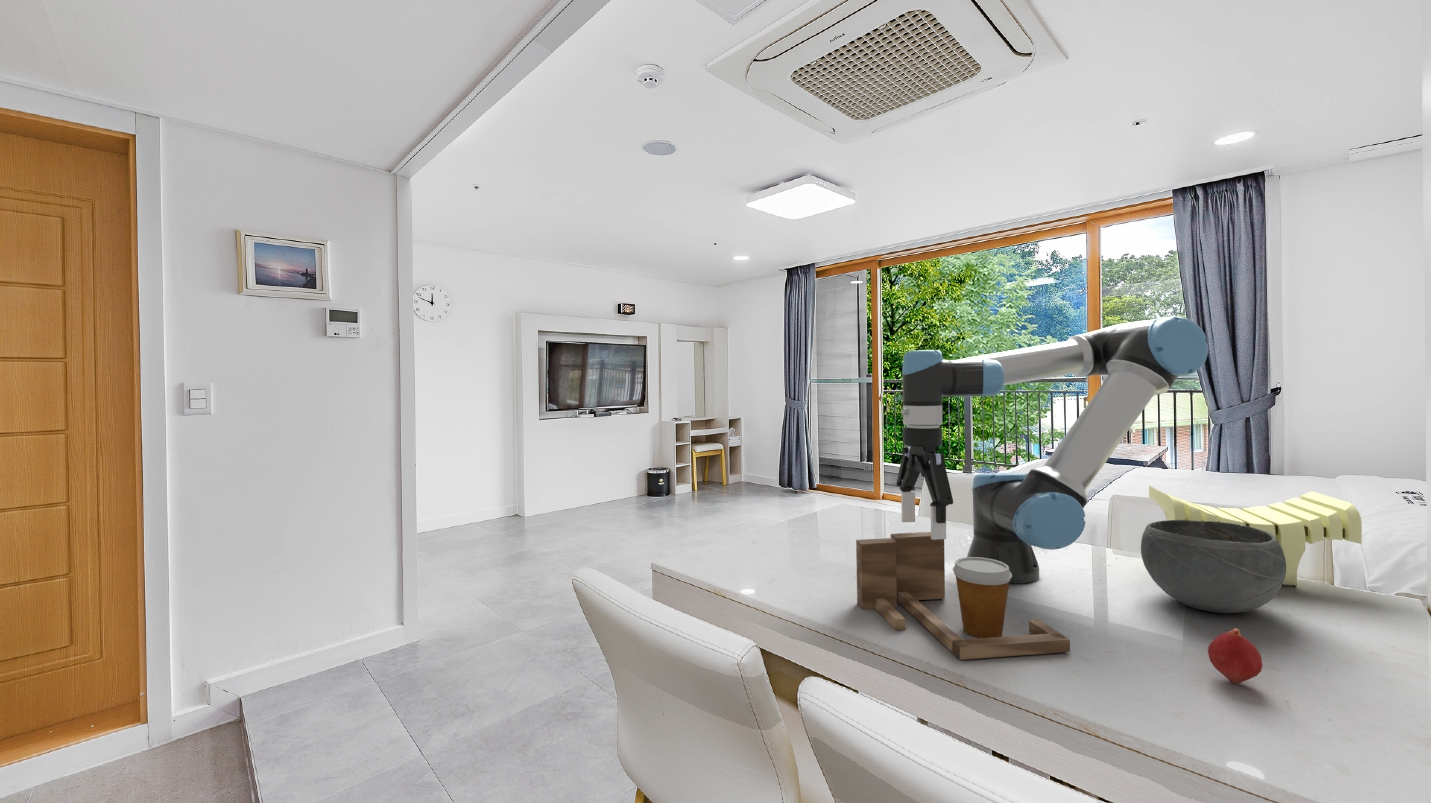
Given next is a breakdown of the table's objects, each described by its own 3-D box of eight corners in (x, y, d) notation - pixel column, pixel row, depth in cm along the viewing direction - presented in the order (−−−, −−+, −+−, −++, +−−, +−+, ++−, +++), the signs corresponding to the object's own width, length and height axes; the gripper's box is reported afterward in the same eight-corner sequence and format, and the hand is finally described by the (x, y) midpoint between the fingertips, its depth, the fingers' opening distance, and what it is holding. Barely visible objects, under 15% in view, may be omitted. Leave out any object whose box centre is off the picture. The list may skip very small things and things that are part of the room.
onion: (1197, 673, 85) (1197, 620, 84) (1232, 670, 85) (1232, 618, 85) (1236, 694, 79) (1236, 638, 79) (1273, 691, 79) (1274, 635, 79)
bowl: (1283, 602, 109) (1283, 526, 109) (1289, 641, 94) (1290, 551, 94) (1147, 579, 124) (1147, 511, 123) (1133, 609, 108) (1133, 531, 108)
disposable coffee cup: (1020, 645, 95) (1019, 574, 95) (959, 641, 97) (958, 572, 97) (1003, 621, 104) (1002, 557, 104) (948, 618, 106) (947, 555, 106)
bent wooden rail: (891, 595, 117) (890, 533, 117) (977, 590, 119) (977, 529, 118) (959, 659, 90) (958, 578, 90) (1070, 651, 92) (1069, 572, 91)
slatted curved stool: (1174, 580, 123) (1174, 498, 122) (1149, 558, 138) (1149, 485, 137) (1360, 595, 112) (1361, 506, 111) (1311, 570, 127) (1312, 491, 126)
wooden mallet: (857, 603, 115) (856, 539, 114) (890, 601, 115) (889, 538, 115) (881, 631, 102) (880, 559, 101) (919, 628, 102) (918, 557, 102)
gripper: (881, 422, 127) (881, 516, 128) (933, 431, 102) (933, 548, 103) (913, 421, 128) (913, 515, 129) (973, 431, 103) (973, 546, 104)
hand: (922, 529), depth 116 cm, fingers open, 13 cm apart
